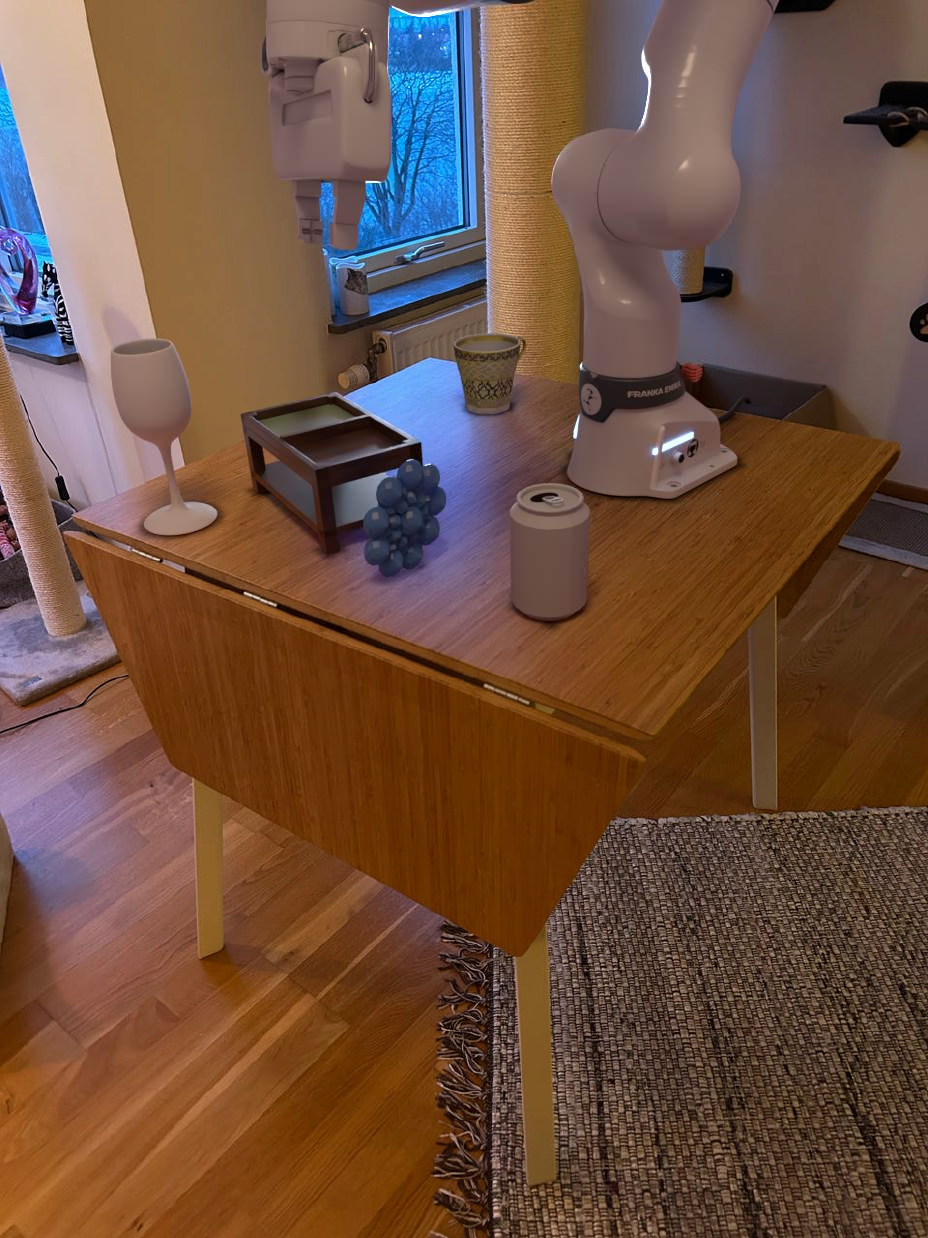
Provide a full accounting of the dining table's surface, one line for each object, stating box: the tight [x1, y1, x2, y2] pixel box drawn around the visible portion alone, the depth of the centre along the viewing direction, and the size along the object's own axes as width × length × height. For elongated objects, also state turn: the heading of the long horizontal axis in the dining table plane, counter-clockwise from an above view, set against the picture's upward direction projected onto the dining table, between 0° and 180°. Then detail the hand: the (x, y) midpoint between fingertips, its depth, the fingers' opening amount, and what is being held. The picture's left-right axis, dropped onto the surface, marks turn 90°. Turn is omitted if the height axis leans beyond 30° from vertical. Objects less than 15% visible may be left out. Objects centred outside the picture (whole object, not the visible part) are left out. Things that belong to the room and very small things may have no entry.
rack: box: [239, 391, 424, 556], centre depth 110 cm, size 13×22×10 cm, turn 33°
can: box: [509, 482, 591, 622], centre depth 88 cm, size 8×8×12 cm
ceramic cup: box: [452, 332, 527, 415], centre depth 139 cm, size 13×10×10 cm
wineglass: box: [110, 337, 218, 536], centre depth 105 cm, size 9×9×21 cm
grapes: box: [363, 459, 447, 579], centre depth 96 cm, size 12×7×12 cm, turn 138°
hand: (325, 245), depth 73 cm, fingers open, 8 cm apart
